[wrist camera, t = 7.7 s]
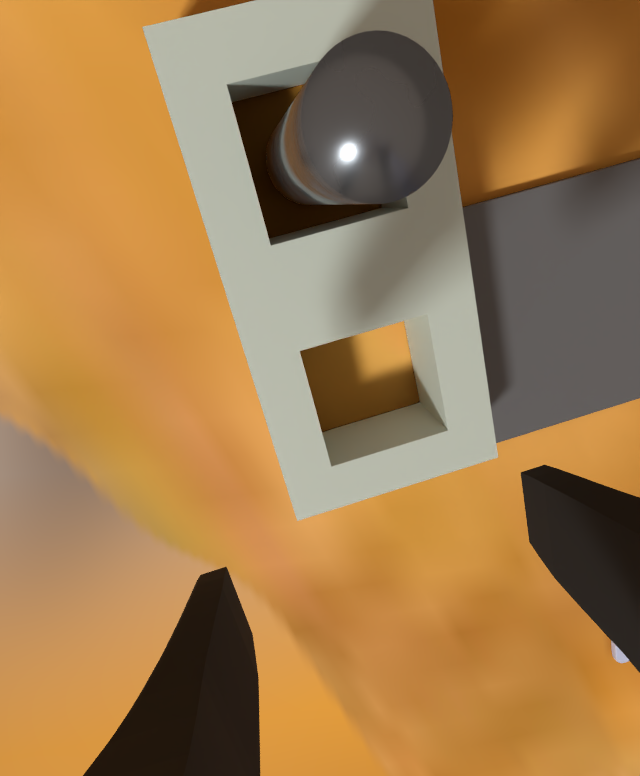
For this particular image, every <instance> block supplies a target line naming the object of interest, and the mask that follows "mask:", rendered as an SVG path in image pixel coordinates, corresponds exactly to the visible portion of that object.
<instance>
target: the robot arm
mask: <svg viewBox="0 0 640 776" xmlns="http://www.w3.org/2000/svg"><path fill="white" fill-rule="evenodd" d="M521 478H522V486H523V494H524V502H525V510H526V518H527V526H528V534H529V542H530V543H531V545H532V546H533V548H534V549H535V551H536V552H537V554H538V555H539V557H540V558H541V560H542V561H543V563H544V564H545V565H546V567H547V568H548V569H549V571H550V572H551V574H552V575H553V576H554V578H555V579H556V580H557V581H558V582H559V583H560V584H561V586H562V587H563V588H564V589H565V590H566V591H567V592H568V593H569V595H570V596H571V597H572V598H573V599H574V600H575V601H576V602H577V603H578V604H579V606H580V607H581V608H582V609H583V610H584V611H585V612H586V613H587V614H588V615H589V616H590V618H591V619H592V620H593V621H594V622H595V623H596V624H597V625H598V626H599V627H600V628H601V630H602V631H603V632H604V633H605V634H606V635H607V636H608V637H609V638H610V639H611V645H612V656H613V657H614V659H615V660H616V661H617V662H619V663H625V662H628V661H630V662H631V663H632V664H633V665H634V666H635V668H636V669H637V670H638V671H639V672H640V498H639V497H636V496H633V495H630V494H627V493H624V492H621V491H618V490H615V489H612V488H610V487H607V486H604V485H601V484H598V483H596V482H593V481H590V480H587V479H585V478H582V477H579V476H576V475H574V474H571V473H568V472H565V471H562V470H559V469H556V468H553V467H550V466H547V465H543V466H540V467H536V468H533V469H530V470H527V471H524V472H521ZM259 737H260V736H259V687H258V672H257V664H256V656H255V649H254V642H253V635H252V632H251V629H250V627H249V624H248V621H247V619H246V616H245V614H244V611H243V609H242V606H241V603H240V601H239V598H238V595H237V593H236V590H235V588H234V585H233V583H232V580H231V577H230V575H229V572H228V570H227V567H224V568H221V569H218V570H215V571H212V572H209V573H205V574H203V575H200V577H199V578H198V580H197V582H196V584H195V587H194V589H193V591H192V593H191V596H190V598H189V600H188V602H187V604H186V607H185V609H184V611H183V613H182V616H181V618H180V620H179V622H178V624H177V626H176V628H175V630H174V632H173V634H172V636H171V638H170V640H169V642H168V644H167V647H166V648H165V650H164V652H163V654H162V656H161V658H160V660H159V661H158V663H157V665H156V667H155V669H154V670H153V672H152V674H151V676H150V677H149V679H148V681H147V683H146V685H145V687H144V688H143V690H142V692H141V693H140V695H139V697H138V698H137V700H136V701H135V703H134V705H133V706H132V708H131V710H130V711H129V713H128V714H127V716H126V717H125V719H124V720H123V722H122V723H121V725H120V726H119V728H118V729H117V731H116V732H115V734H114V735H113V737H112V738H111V739H110V741H109V742H108V744H107V745H106V746H105V748H104V749H103V750H102V751H101V753H100V754H99V755H98V757H97V758H96V759H95V761H94V762H93V764H92V765H91V766H90V767H89V769H88V770H87V771H86V772H85V774H84V775H83V776H260V742H259V741H260V740H259V739H260V738H259Z"/></svg>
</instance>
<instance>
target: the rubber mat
mask: <svg viewBox="0 0 640 776" xmlns="http://www.w3.org/2000/svg"><path fill="white" fill-rule="evenodd" d="M462 208H463V215H464V222H465V229H466V236H467V243H468V250H469V257H470V264H471V271H472V278H473V285H474V292H475V299H476V306H477V313H478V320H479V327H480V334H481V341H482V348H483V355H484V362H485V369H486V376H487V383H488V390H489V397H490V404H491V411H492V418H493V425H494V432H495V439H496V443H498V442H501V441H504V440H508V439H511V438H514V437H517V436H520V435H524V434H527V433H530V432H533V431H536V430H539V429H543V428H546V427H549V426H552V425H555V424H559V423H562V422H565V421H568V420H571V419H574V418H578V417H581V416H584V415H587V414H590V413H594V412H597V411H600V410H603V409H606V408H609V407H613V406H616V405H619V404H622V403H625V402H629V401H632V400H635V399H638V398H640V158H639V159H635V160H631V161H628V162H624V163H620V164H617V165H613V166H610V167H606V168H602V169H599V170H595V171H592V172H588V173H584V174H581V175H577V176H573V177H570V178H566V179H563V180H559V181H555V182H552V183H548V184H545V185H541V186H537V187H534V188H530V189H526V190H523V191H519V192H516V193H512V194H508V195H505V196H501V197H497V198H494V199H490V200H487V201H483V202H479V203H476V204H472V205H469V206H465V207H462Z"/></svg>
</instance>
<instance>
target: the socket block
mask: <svg viewBox="0 0 640 776" xmlns="http://www.w3.org/2000/svg"><path fill="white" fill-rule="evenodd" d="M142 28H143V31H144V34H145V37H146V40H147V43H148V47H149V50H150V53H151V56H152V59H153V63H154V66H155V69H156V72H157V75H158V78H159V82H160V85H161V88H162V91H163V94H164V98H165V101H166V104H167V107H168V110H169V114H170V117H171V120H172V123H173V126H174V129H175V133H176V136H177V139H178V142H179V145H180V149H181V152H182V155H183V158H184V161H185V164H186V168H187V171H188V174H189V177H190V180H191V184H192V187H193V190H194V193H195V196H196V200H197V203H198V206H199V209H200V212H201V215H202V219H203V222H204V225H205V228H206V231H207V235H208V238H209V241H210V244H211V247H212V250H213V254H214V257H215V260H216V263H217V266H218V270H219V273H220V276H221V279H222V282H223V286H224V289H225V292H226V295H227V298H228V301H229V305H230V308H231V311H232V314H233V317H234V321H235V324H236V327H237V330H238V333H239V337H240V340H241V343H242V346H243V349H244V352H245V356H246V359H247V362H248V365H249V368H250V372H251V375H252V378H253V381H254V384H255V387H256V391H257V394H258V397H259V400H260V403H261V407H262V410H263V413H264V416H265V419H266V423H267V426H268V429H269V432H270V435H271V438H272V442H273V445H274V448H275V451H276V454H277V458H278V461H279V464H280V467H281V470H282V473H283V477H284V480H285V483H286V486H287V489H288V493H289V496H290V499H291V502H292V505H293V509H294V512H295V515H296V518H297V521H299V520H302V519H305V518H308V517H311V516H314V515H318V514H321V513H324V512H327V511H330V510H333V509H336V508H340V507H343V506H346V505H349V504H352V503H355V502H359V501H362V500H365V499H368V498H371V497H374V496H378V495H381V494H384V493H387V492H390V491H393V490H396V489H400V488H403V487H406V486H409V485H412V484H415V483H419V482H422V481H425V480H428V479H431V478H434V477H438V476H441V475H444V474H447V473H450V472H453V471H456V470H460V469H463V468H466V467H469V466H472V465H475V464H479V463H482V462H485V461H488V460H491V459H494V458H498V453H497V446H496V439H495V432H494V425H493V418H492V411H491V404H490V397H489V390H488V383H487V376H486V369H485V362H484V355H483V348H482V341H481V334H480V327H479V320H478V313H477V306H476V299H475V292H474V285H473V278H472V271H471V264H470V257H469V250H468V243H467V236H466V229H465V222H464V215H463V208H462V201H461V194H460V187H459V180H458V173H457V166H456V159H455V152H454V145H453V138H452V131H451V137H450V141H449V144H448V148H447V151H446V153H445V155H444V158H443V160H442V162H441V163H440V165H439V167H438V169H437V170H436V171H435V173H434V174H433V175H432V177H431V178H430V179H429V180H428V181H427V182H426V183H425V184H424V185H423V186H422V187H420V188H419V189H418V190H417V191H415V192H414V193H412V194H410V195H409V196H407V197H405V198H402V199H400V200H397V201H394V202H390V203H384V204H381V205H382V208H379V209H375V210H372V211H368V212H364V213H361V214H357V215H353V216H350V217H346V218H343V219H339V220H335V221H332V222H328V223H324V224H321V225H317V226H313V227H310V228H306V229H302V230H299V231H295V232H291V233H288V234H284V235H280V236H277V237H273V238H269V237H268V234H267V230H266V226H265V223H264V219H263V215H262V212H261V208H260V204H259V201H258V197H257V193H256V190H255V186H254V182H253V179H252V175H251V172H250V168H249V164H248V161H247V157H246V153H245V150H244V146H243V142H242V139H241V135H240V131H239V128H238V124H237V120H236V117H235V113H234V110H233V106H232V102H235V101H239V100H243V99H247V98H251V97H255V96H259V95H263V94H267V93H271V92H275V91H279V90H283V89H287V88H291V87H295V86H299V85H303V84H305V83H306V81H307V79H308V78H309V76H310V75H311V73H312V72H313V70H314V69H315V67H316V66H317V64H318V63H319V61H320V60H321V59H322V58H323V57H324V55H325V54H326V53H327V52H328V51H329V50H330V49H332V48H333V47H334V46H335V45H336V44H338V43H339V42H341V41H342V40H344V39H346V38H348V37H350V36H352V35H355V34H358V33H362V32H365V31H374V30H380V31H390V32H394V33H398V34H401V35H403V36H406V37H408V38H410V39H411V40H413V41H415V42H416V43H418V44H419V45H420V46H422V47H423V48H424V49H425V50H426V51H427V52H428V53H429V54H430V55H431V56H432V57H433V59H434V60H435V61H436V63H437V64H438V66H439V67H440V69H441V71H442V73H443V68H442V61H441V54H440V47H439V40H438V33H437V26H436V19H435V12H434V5H433V0H254V1H250V2H246V3H242V4H238V5H233V6H229V7H225V8H221V9H217V10H212V11H208V12H204V13H200V14H195V15H191V16H187V17H183V18H179V19H174V20H170V21H166V22H162V23H158V24H153V25H149V26H145V27H142ZM401 321H404V323H405V328H406V334H407V339H408V344H409V349H410V354H411V359H412V364H413V369H414V375H415V380H416V385H417V390H418V395H419V400H420V403H416V404H413V405H410V406H407V407H403V408H400V409H397V410H393V411H390V412H387V413H384V414H380V415H377V416H374V417H370V418H367V419H364V420H361V421H357V422H354V423H351V424H347V425H344V426H341V427H338V428H334V429H331V430H328V431H325V432H322V431H321V427H320V423H319V420H318V416H317V412H316V409H315V405H314V401H313V398H312V394H311V390H310V387H309V383H308V380H307V376H306V372H305V369H304V365H303V361H302V358H301V354H300V351H302V350H305V349H309V348H312V347H316V346H319V345H322V344H326V343H329V342H333V341H336V340H340V339H343V338H347V337H350V336H353V335H357V334H360V333H364V332H367V331H371V330H374V329H377V328H381V327H384V326H388V325H391V324H395V323H398V322H401Z"/></svg>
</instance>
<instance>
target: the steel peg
mask: <svg viewBox="0 0 640 776" xmlns="http://www.w3.org/2000/svg"><path fill="white" fill-rule="evenodd" d="M452 121H453V111H452V101H451V95H450V91H449V88H448V84H447V82H446V79H445V77H444V75H443V73H442V71H441V69H440V67H439V66H438V64H437V63H436V61H435V60H434V59H433V57H432V56H431V55H430V54H429V53H428V52H427V51H426V50H425V49H424V48H423V47H422V46H420V45H419V44H418V43H416V42H415V41H413V40H411V39H410V38H408V37H406V36H403V35H401V34H398V33H394V32H390V31H380V30H374V31H365V32H362V33H358V34H355V35H352V36H350V37H348V38H346V39H344V40H342V41H341V42H339V43H338V44H336V45H335V46H334V47H333V48H332V49H330V50H329V51H328V52H327V53H326V54H325V55H324V57H323V58H322V59H321V60H320V61H319V63H318V64H317V66H316V67H315V69H314V70H313V72H312V73H311V75H310V76H309V78H308V79H307V81H306V83H305V84H304V86H303V87H302V89H301V90H300V92H299V93H298V95H297V96H296V98H295V99H294V101H293V102H292V104H291V105H290V107H289V108H288V110H287V111H286V113H285V114H284V116H283V117H282V119H281V120H280V122H279V123H278V125H277V126H276V128H275V129H274V131H273V132H272V134H271V136H270V138H269V141H268V144H267V149H266V166H267V171H268V174H269V177H270V179H271V181H272V183H273V185H274V186H275V187H276V189H277V190H278V191H279V192H280V193H281V194H282V195H283V196H284V197H286V198H287V199H289V200H291V201H293V202H295V203H298V204H303V205H342V204H384V203H390V202H394V201H397V200H400V199H402V198H405V197H407V196H409V195H410V194H412V193H414V192H415V191H417V190H418V189H419V188H420V187H422V186H423V185H424V184H425V183H426V182H427V181H428V180H429V179H430V178H431V177H432V175H433V174H434V173H435V171H436V170H437V169H438V167H439V165H440V163H441V162H442V160H443V158H444V155H445V153H446V151H447V148H448V144H449V141H450V137H451V131H452Z"/></svg>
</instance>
